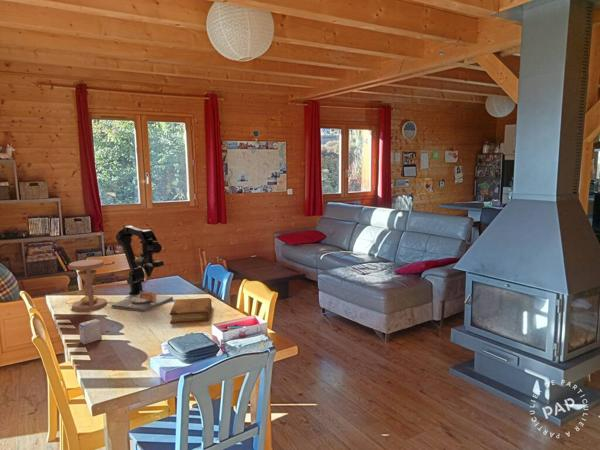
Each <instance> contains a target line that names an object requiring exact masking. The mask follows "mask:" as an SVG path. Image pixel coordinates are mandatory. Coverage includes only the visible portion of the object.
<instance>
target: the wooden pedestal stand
mask: <svg viewBox="0 0 600 450" xmlns="http://www.w3.org/2000/svg"><path fill="white" fill-rule="evenodd" d="M104 263H105V261H104V260H103V259H98V258H97V259H96V258H94V259H93V258H91V259H82V260H76V261H71V262H69V263H68V269H69V270H71V271H72V270H74V271H79V272H77V275H78V276H79V278H81V279H82V280H83V282H84V284H83V290H84V295H85V296H84V297H81V298H80V300H78V301H75V302H74V303H72V305H71V310H73V309H74V310H73V311H75V310H77V311H76V312H89V311H90V310H91V311H96V310H99V308H100V309H102V308H104V306H105V307H106V306H107V304H108V302H107V301H108V300H107V299H106V298H101V297H99V296H98V295H95V294H94V289H93V287H92V286H93V282H94V281H93V279H94V277H95V276H96V274H97V270H96V269H97V268H98V269H99V268H101V267H103V266H105V264H104ZM91 311H90V312H91Z"/></svg>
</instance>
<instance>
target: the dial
mask: <svg viewBox="0 0 600 450" xmlns="http://www.w3.org/2000/svg"><path fill="white" fill-rule="evenodd" d="M139 294H140V295H138V294H136V295H137V296H135V295H134V297H133V296H131V297H132V303H137V304H141V303H148V302H151V301H155V300H156V295H157V294H156V293H155V292H150V291H146V290H143V291H140V293H139Z"/></svg>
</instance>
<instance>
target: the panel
mask: <svg viewBox="0 0 600 450" xmlns="http://www.w3.org/2000/svg"><path fill="white" fill-rule="evenodd" d="M137 295H140V293H139V294H134V296H137ZM134 296H131V297H128V298H125V299H123V300H121V301H117V302H114V303H113V304H111V307H112V308H113V309H120V310H121V309H122V310H129V311H135V312H142V313H143V312H144V313H147V312H149V311H151V310H152V309H154V308H157V307H159V306H161V305H163V304H166V303H168V302H170V301H172V300H173V299H174V298H173V296H167V295H159V294H156V300H155V301H151V302H148V303H141V304H137V303H132V297H134Z"/></svg>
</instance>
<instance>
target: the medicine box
mask: <svg viewBox="0 0 600 450" xmlns="http://www.w3.org/2000/svg"><path fill="white" fill-rule="evenodd" d="M78 329H79V330H78V331H79V341H80V343H81V344H83V345H87V344H90V343H93V342H96V341H99V340H102V339H103V337H102V336H103V334H102V324H101V320H99V319H96V318H94V319H92V320H87V321H83V322H80V323H78Z"/></svg>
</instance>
